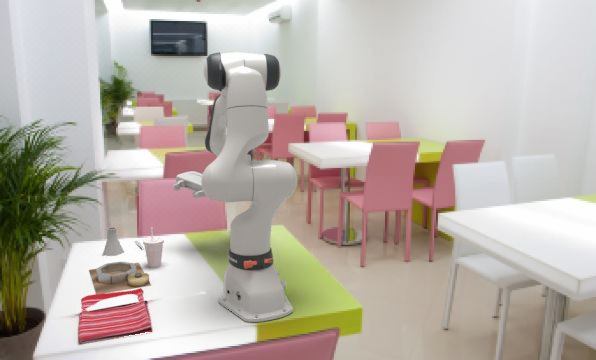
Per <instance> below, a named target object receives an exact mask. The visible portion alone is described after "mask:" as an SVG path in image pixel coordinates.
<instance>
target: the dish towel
mask: <svg viewBox="0 0 596 360" xmlns="http://www.w3.org/2000/svg"><path fill="white" fill-rule="evenodd" d="M126 295H127V296H128V295H135V296H137V300H138V301H135V302H131V303H125V304H120V305H115V306H110V307H104V308H98V309H93V310H87V309H88V308H90V307H92V306H94V305H96V304H97V303H99V302H101V301H104V300H108V299H113V298H117V297H122V296H126ZM80 301H81V303H80V304H81V306H80V307H81V312H79V317H78V327H77V330H78V332H77V334H78V337H77V339H78V342H79V344H81V345H84V344H89V343H96V342H102V341H108V340H115V339H114V338H116V339H120V338H119V337H123V338H125V337H124V336H129V335H135V334H140V333H145V332H152V333H153V326H152V320H151V319H152V318H151V315H150V310H149V305H148V300H145V299H144V290H143V288H142V287H139V288H135V289H131V290H122V291H116V292H110V293H104V294H96V293H95V294H90V295H86V296H84V297H82V298H81V299H80ZM135 336H136V335H135ZM129 337H130V336H129Z"/></svg>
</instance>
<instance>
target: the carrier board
mask: <svg viewBox="0 0 596 360" xmlns="http://www.w3.org/2000/svg"><path fill="white" fill-rule="evenodd" d="M132 263H133V264H135V266H136V269H137V273H134V274H131V275H129V276H128V281H127V282H123V283H117V284H106V283H100V282H98V280H97V276H96V269H97V268H92V269H91V268H90V269H88V272H89V275H90V277H91V278H90V279H91V282H92V285H93V289H94V292H95V294H106V293H113V292H123V291H129V290H134V289H140V288H145V287H149V286H152V284H151V282H150V274H149V273H147V272H145V271H144V270H143V268H142V267H141V264H140V263H139V262H132ZM125 272H127V271H115V272H108V273H107V274H112V275H113V274H119V273H125Z"/></svg>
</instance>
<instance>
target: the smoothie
mask: <svg viewBox="0 0 596 360" xmlns="http://www.w3.org/2000/svg"><path fill="white" fill-rule="evenodd" d="M153 228H154V227H153V226H151V227H150V236H151V237H147V238H144V239H143V241H142V244H143V245H144V249H145V250H144V251H145V257H146V262H147V266H148V268H152V269H153V268H159V267H161V265H162V258H163V248H164V243H165V239H164V238H163V237H160V236H154V229H153Z"/></svg>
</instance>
